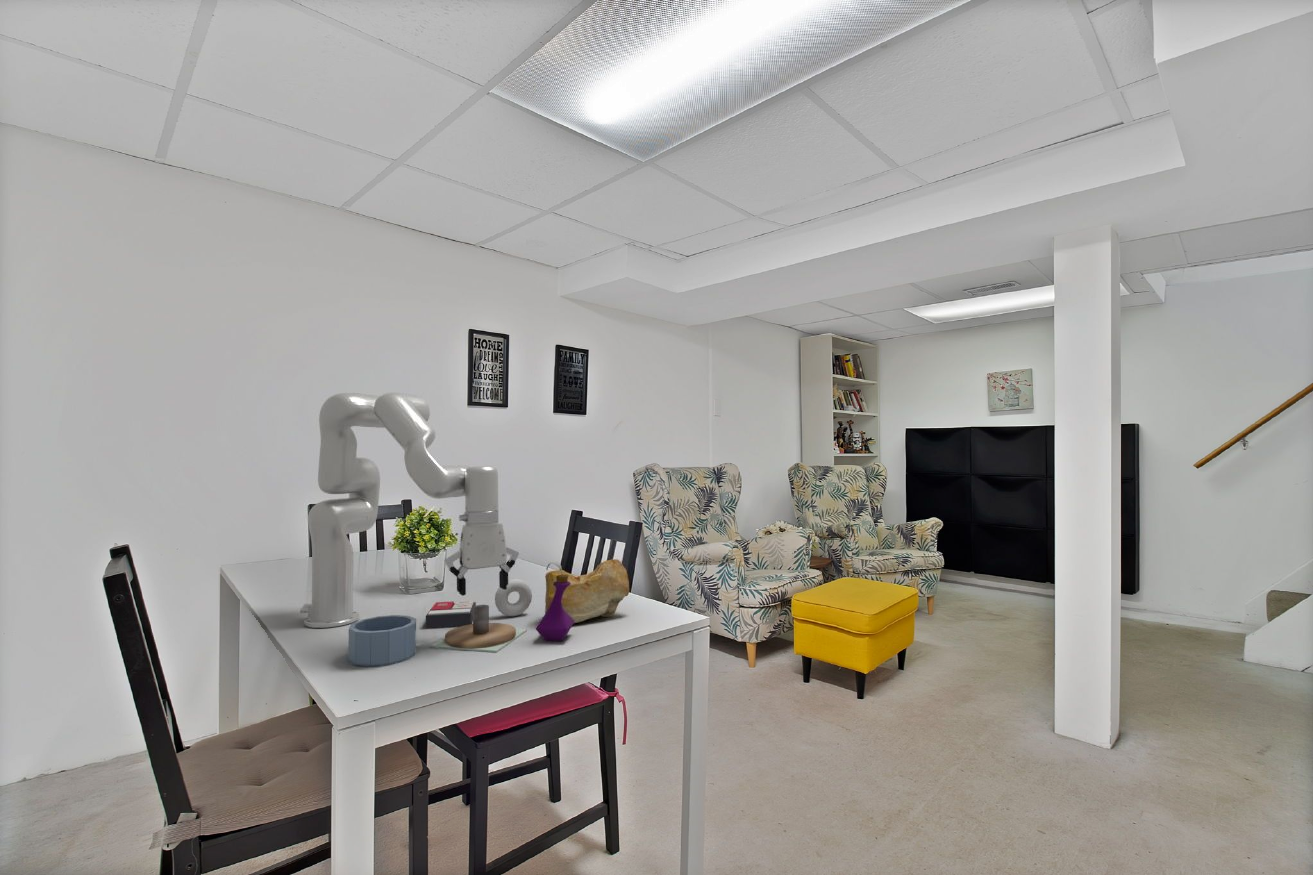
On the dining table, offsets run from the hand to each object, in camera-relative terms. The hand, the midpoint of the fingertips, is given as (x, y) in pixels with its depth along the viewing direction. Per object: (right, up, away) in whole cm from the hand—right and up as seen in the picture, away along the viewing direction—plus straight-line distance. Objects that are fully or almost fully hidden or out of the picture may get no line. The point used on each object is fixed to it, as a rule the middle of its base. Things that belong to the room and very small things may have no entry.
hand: (483, 591), depth 142 cm
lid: (-1, -11, 0) cm, 11 cm away
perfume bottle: (+17, -11, 0) cm, 20 cm away
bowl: (-18, -11, -12) cm, 24 cm away
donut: (+2, -12, +20) cm, 23 cm away
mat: (-1, -11, 0) cm, 11 cm away
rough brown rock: (+21, -12, +20) cm, 31 cm away
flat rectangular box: (-13, -12, +17) cm, 24 cm away
